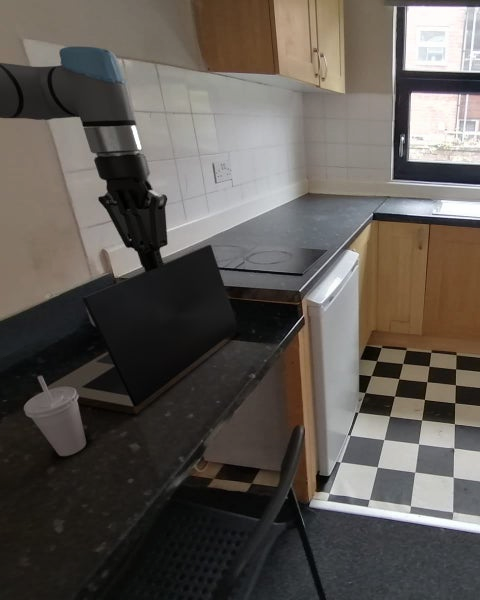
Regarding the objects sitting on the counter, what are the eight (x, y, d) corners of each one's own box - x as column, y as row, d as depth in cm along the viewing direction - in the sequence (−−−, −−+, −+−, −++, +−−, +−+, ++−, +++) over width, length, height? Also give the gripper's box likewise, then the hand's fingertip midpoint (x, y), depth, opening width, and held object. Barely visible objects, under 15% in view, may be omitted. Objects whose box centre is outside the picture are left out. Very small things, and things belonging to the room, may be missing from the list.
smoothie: (47, 469, 61) (9, 394, 55) (46, 445, 65) (11, 373, 59) (98, 449, 64) (68, 376, 59) (94, 427, 69) (66, 358, 63)
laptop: (45, 397, 77) (41, 389, 76) (164, 325, 103) (162, 319, 102) (136, 414, 72) (133, 405, 71) (236, 334, 98) (235, 327, 98)
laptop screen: (81, 297, 63) (85, 297, 63) (207, 244, 90) (210, 244, 90) (133, 406, 71) (137, 406, 71) (235, 328, 98) (238, 328, 97)
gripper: (167, 151, 70) (199, 277, 80) (108, 153, 73) (146, 274, 83) (131, 155, 64) (171, 292, 73) (68, 156, 67) (114, 287, 76)
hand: (158, 282), depth 78 cm, fingers closed
